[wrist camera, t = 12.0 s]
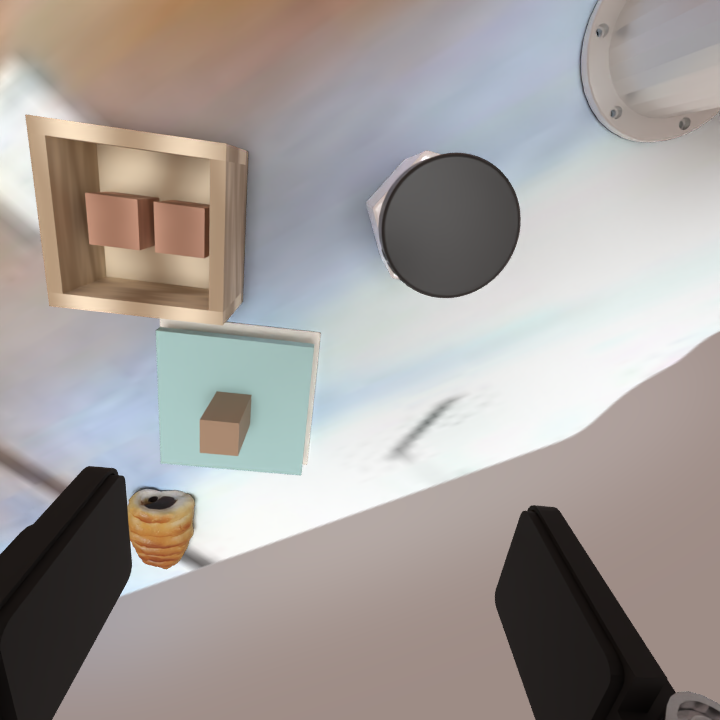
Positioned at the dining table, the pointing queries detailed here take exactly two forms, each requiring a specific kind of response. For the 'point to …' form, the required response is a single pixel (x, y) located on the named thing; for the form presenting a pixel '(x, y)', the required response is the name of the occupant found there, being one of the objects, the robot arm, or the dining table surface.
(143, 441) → the dining table surface
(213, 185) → the box
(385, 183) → the jar
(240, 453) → the lid
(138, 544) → the pastry
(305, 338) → the mat
